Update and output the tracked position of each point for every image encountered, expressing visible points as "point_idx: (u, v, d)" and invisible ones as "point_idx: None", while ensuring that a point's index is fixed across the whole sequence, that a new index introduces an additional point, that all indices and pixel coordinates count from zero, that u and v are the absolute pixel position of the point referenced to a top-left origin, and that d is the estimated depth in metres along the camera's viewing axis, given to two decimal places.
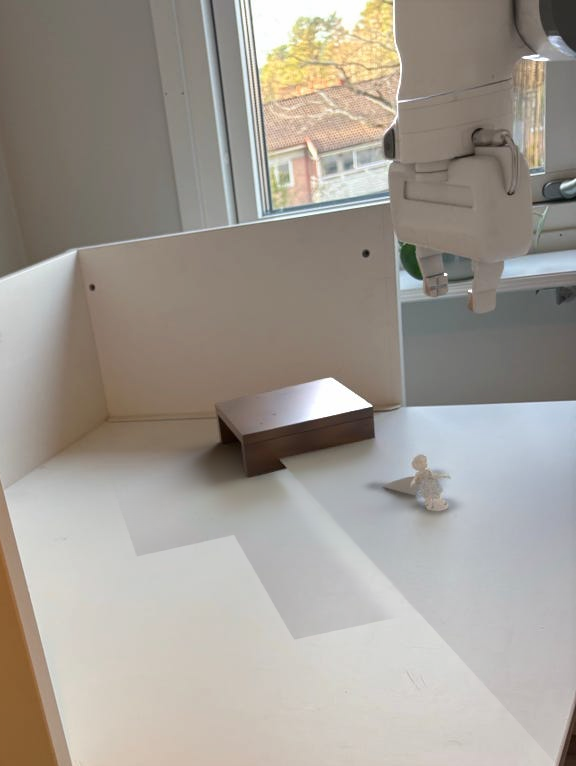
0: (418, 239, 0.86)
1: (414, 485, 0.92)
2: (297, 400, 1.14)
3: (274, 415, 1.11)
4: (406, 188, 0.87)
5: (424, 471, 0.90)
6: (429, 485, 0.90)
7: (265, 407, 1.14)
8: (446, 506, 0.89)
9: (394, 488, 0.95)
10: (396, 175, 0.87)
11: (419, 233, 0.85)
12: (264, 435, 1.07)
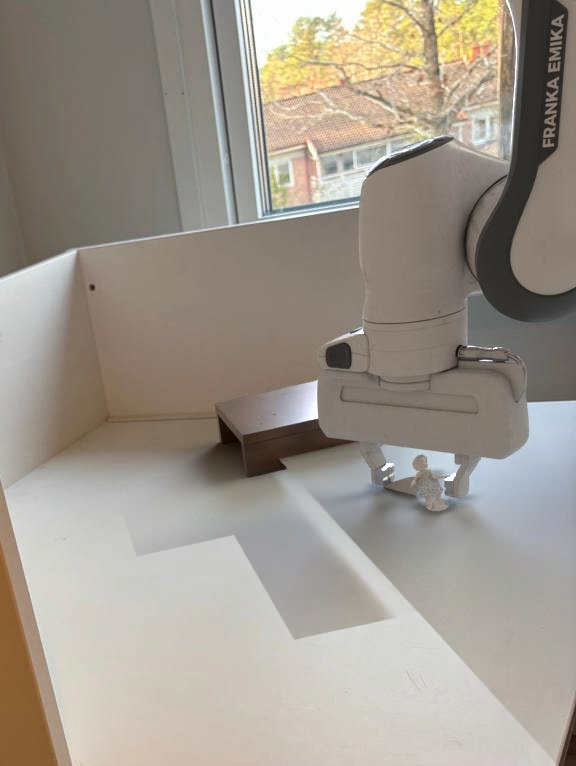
0: (370, 437, 0.92)
1: (415, 485, 0.92)
2: (297, 400, 1.14)
3: (274, 415, 1.11)
4: (343, 392, 0.92)
5: (425, 471, 0.90)
6: (429, 485, 0.90)
7: (265, 407, 1.14)
8: (446, 506, 0.89)
9: (395, 488, 0.95)
10: (333, 381, 0.91)
11: (373, 431, 0.91)
12: (264, 435, 1.07)
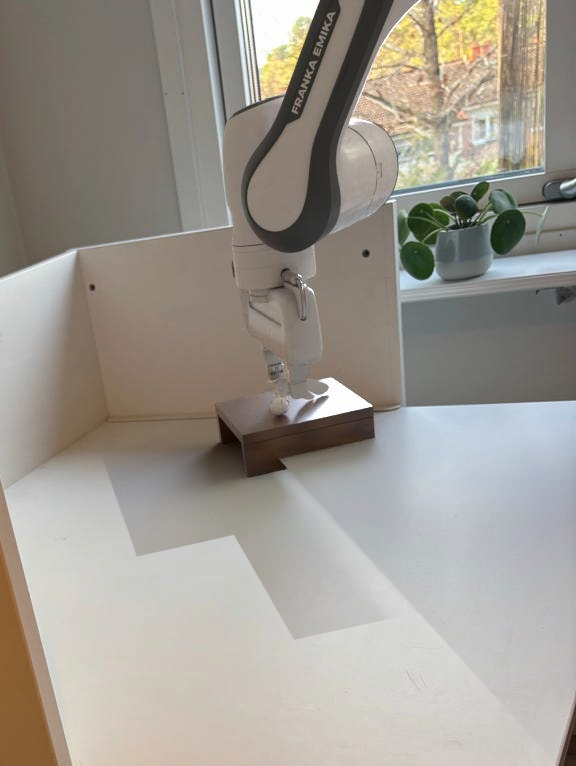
0: (258, 338, 1.14)
1: (285, 385, 1.13)
2: (297, 400, 1.14)
3: (274, 415, 1.11)
4: None
5: (283, 374, 1.11)
6: (280, 385, 1.10)
7: (265, 407, 1.14)
8: (281, 404, 1.09)
9: (283, 386, 1.15)
10: (242, 289, 1.14)
11: (259, 334, 1.13)
12: (264, 435, 1.07)
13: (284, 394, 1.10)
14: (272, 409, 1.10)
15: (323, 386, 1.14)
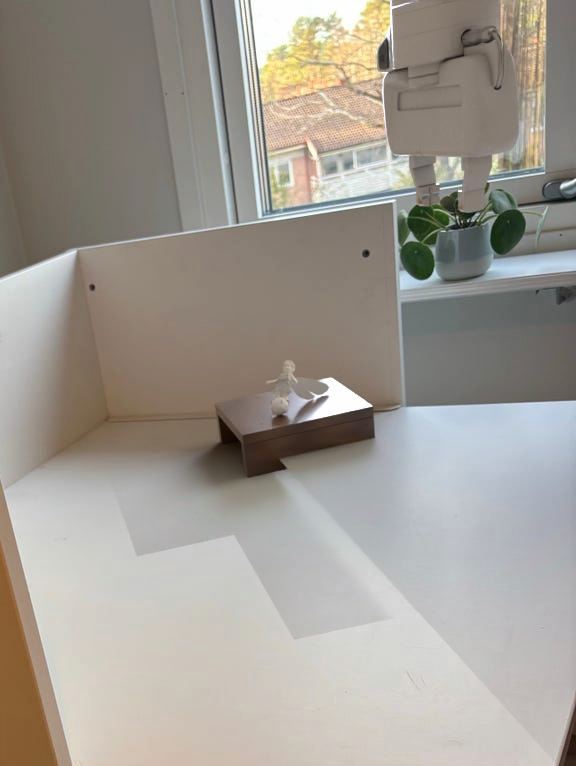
0: (411, 148, 0.90)
1: (285, 385, 1.13)
2: (297, 400, 1.14)
3: (274, 415, 1.11)
4: (400, 100, 0.91)
5: (284, 373, 1.11)
6: (280, 385, 1.10)
7: (265, 407, 1.14)
8: (281, 404, 1.09)
9: (283, 386, 1.15)
10: (390, 88, 0.91)
11: (412, 141, 0.89)
12: (264, 435, 1.07)
13: (284, 394, 1.10)
14: (272, 409, 1.10)
15: (323, 386, 1.14)
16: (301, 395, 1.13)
